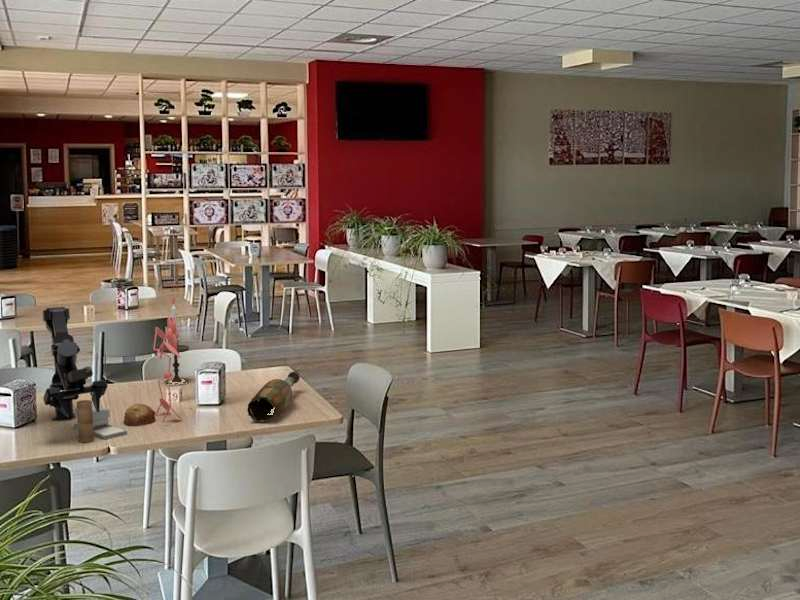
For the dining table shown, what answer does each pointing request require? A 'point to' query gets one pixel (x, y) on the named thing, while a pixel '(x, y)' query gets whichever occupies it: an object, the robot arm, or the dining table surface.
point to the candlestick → (179, 349)
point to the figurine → (172, 346)
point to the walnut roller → (85, 421)
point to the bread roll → (139, 415)
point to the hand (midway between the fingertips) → (83, 414)
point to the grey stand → (102, 424)
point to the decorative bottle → (272, 398)
